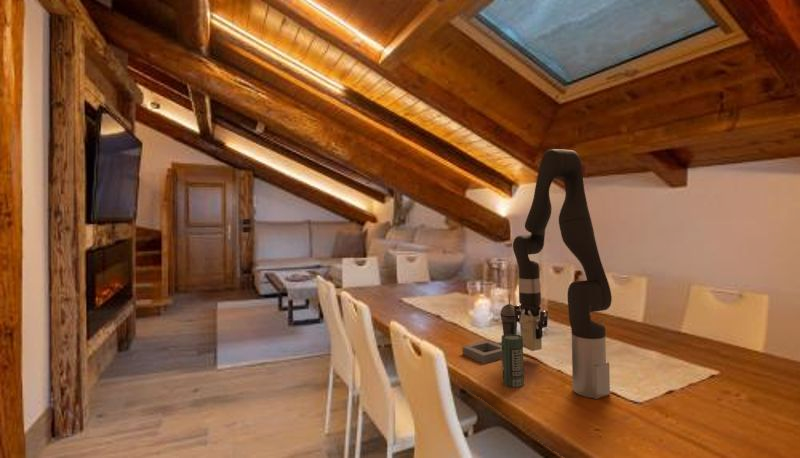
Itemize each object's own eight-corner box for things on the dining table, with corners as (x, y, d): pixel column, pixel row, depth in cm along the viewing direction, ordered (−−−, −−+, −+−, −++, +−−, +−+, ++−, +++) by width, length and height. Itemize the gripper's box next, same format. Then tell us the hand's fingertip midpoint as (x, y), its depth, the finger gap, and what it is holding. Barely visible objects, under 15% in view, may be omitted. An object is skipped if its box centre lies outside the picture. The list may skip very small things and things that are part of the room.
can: (515, 378, 137) (514, 332, 137) (527, 385, 132) (526, 337, 131) (499, 381, 135) (498, 335, 135) (511, 389, 130) (509, 340, 129)
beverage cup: (517, 339, 177) (516, 291, 176) (520, 345, 169) (519, 295, 168) (499, 339, 177) (498, 292, 176) (502, 345, 170) (500, 296, 169)
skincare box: (521, 347, 154) (519, 313, 154) (530, 344, 156) (529, 312, 156) (533, 351, 148) (532, 317, 148) (542, 349, 150) (541, 315, 150)
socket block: (510, 356, 157) (510, 348, 157) (483, 363, 151) (483, 355, 151) (488, 347, 168) (488, 340, 168) (462, 354, 161) (462, 346, 161)
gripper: (553, 291, 147) (554, 339, 148) (522, 286, 160) (523, 330, 160) (537, 294, 144) (539, 343, 144) (507, 289, 156) (509, 334, 156)
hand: (531, 336), depth 152 cm, fingers closed on skincare box, 6 cm apart
